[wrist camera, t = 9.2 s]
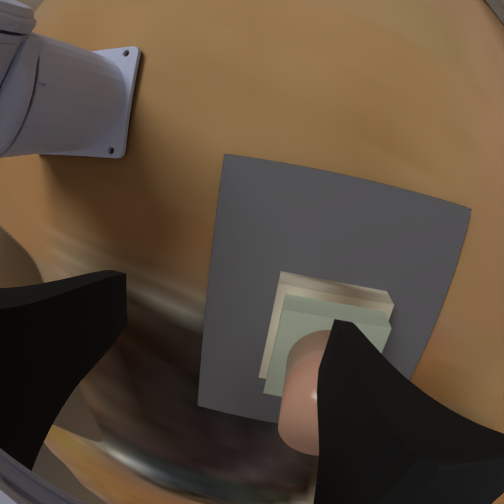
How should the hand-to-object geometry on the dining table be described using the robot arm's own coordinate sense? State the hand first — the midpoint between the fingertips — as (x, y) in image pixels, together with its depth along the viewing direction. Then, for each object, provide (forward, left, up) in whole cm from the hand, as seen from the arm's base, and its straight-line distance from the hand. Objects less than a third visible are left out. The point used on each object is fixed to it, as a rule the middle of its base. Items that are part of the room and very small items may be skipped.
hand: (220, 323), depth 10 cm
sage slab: (+5, -5, -8) cm, 11 cm away
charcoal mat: (+5, -5, -10) cm, 13 cm away
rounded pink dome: (+5, -5, -6) cm, 9 cm away
